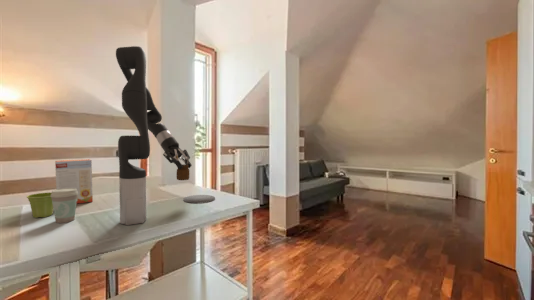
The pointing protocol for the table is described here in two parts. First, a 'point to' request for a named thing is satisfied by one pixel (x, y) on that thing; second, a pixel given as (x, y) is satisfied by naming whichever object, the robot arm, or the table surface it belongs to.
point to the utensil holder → (183, 172)
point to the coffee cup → (64, 204)
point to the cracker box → (75, 177)
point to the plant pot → (41, 204)
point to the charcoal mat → (199, 198)
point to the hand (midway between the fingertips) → (185, 167)
